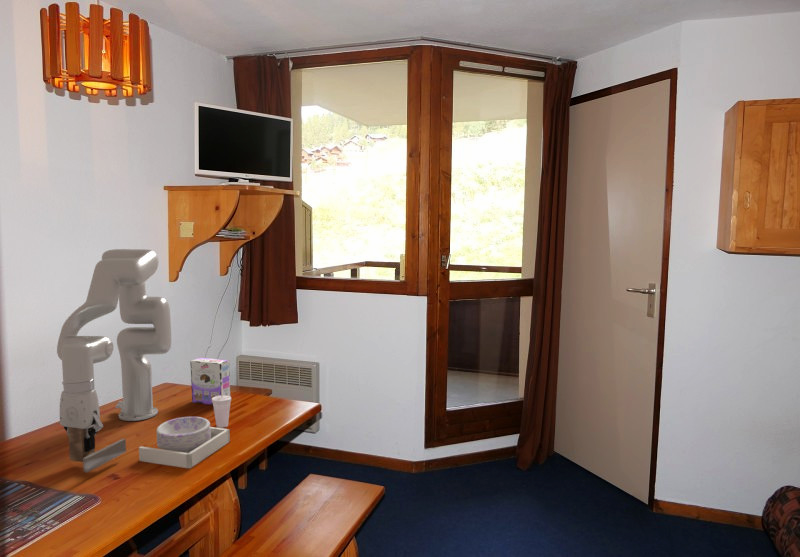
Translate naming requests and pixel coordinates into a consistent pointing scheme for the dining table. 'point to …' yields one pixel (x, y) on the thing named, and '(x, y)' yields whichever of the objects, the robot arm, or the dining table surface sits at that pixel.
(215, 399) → the smoothie
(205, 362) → the candy box
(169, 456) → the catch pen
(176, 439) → the paper bowls
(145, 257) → the robot arm
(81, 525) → the dining table surface
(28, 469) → the dining table surface
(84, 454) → the scraper
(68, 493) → the dining table surface
